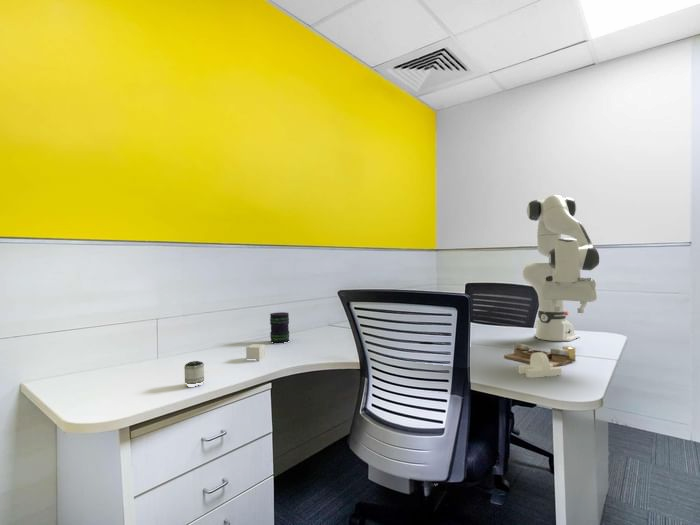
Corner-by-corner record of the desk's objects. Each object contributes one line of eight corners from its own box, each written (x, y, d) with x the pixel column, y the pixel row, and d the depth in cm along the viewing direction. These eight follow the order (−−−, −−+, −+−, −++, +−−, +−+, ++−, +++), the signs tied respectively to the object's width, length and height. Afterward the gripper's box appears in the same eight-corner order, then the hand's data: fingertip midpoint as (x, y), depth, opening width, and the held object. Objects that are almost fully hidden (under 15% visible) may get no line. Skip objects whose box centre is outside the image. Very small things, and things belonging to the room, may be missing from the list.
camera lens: (203, 381, 137) (202, 359, 137) (205, 386, 132) (205, 363, 132) (184, 384, 134) (183, 361, 134) (185, 389, 129) (185, 365, 129)
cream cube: (246, 361, 164) (246, 347, 164) (252, 357, 170) (252, 344, 170) (259, 361, 163) (259, 347, 163) (265, 358, 169) (265, 344, 169)
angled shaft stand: (551, 357, 155) (550, 347, 155) (568, 359, 152) (567, 348, 152) (550, 360, 152) (550, 349, 152) (567, 361, 149) (567, 351, 149)
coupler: (567, 358, 158) (566, 346, 158) (577, 360, 154) (577, 348, 154) (560, 359, 156) (560, 347, 156) (571, 362, 152) (571, 349, 152)
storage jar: (290, 339, 207) (289, 312, 207) (288, 343, 198) (288, 314, 198) (271, 340, 207) (271, 312, 207) (269, 344, 197) (268, 315, 197)
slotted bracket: (549, 370, 142) (548, 349, 142) (562, 375, 136) (562, 353, 136) (517, 372, 140) (517, 351, 140) (529, 378, 133) (529, 356, 133)
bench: (527, 352, 169) (526, 340, 169) (572, 362, 151) (572, 349, 151) (504, 357, 161) (503, 345, 161) (549, 368, 144) (548, 354, 144)
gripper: (599, 277, 148) (600, 313, 147) (548, 277, 165) (549, 309, 165) (590, 277, 144) (591, 314, 144) (539, 277, 162) (540, 310, 162)
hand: (568, 311), depth 155 cm, fingers open, 8 cm apart
